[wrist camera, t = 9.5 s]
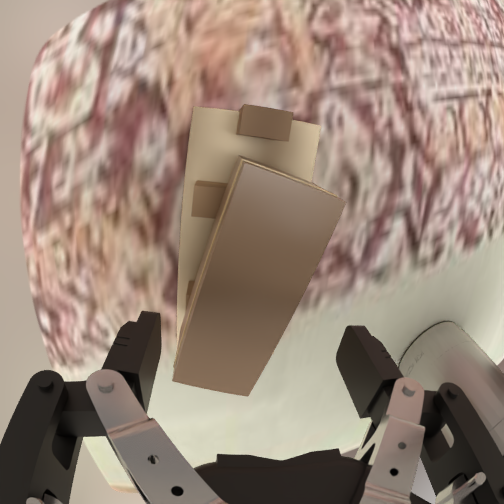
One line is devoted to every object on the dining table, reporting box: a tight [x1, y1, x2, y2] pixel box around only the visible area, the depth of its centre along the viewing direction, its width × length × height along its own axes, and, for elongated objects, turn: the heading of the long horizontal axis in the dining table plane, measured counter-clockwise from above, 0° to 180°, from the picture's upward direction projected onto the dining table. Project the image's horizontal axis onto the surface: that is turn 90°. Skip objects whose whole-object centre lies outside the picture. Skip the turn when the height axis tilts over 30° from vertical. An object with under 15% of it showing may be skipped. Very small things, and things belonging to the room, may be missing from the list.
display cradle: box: [177, 104, 321, 354], centre depth 18 cm, size 8×18×5 cm, turn 172°
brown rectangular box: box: [172, 155, 346, 396], centre depth 16 cm, size 5×12×5 cm, turn 159°
